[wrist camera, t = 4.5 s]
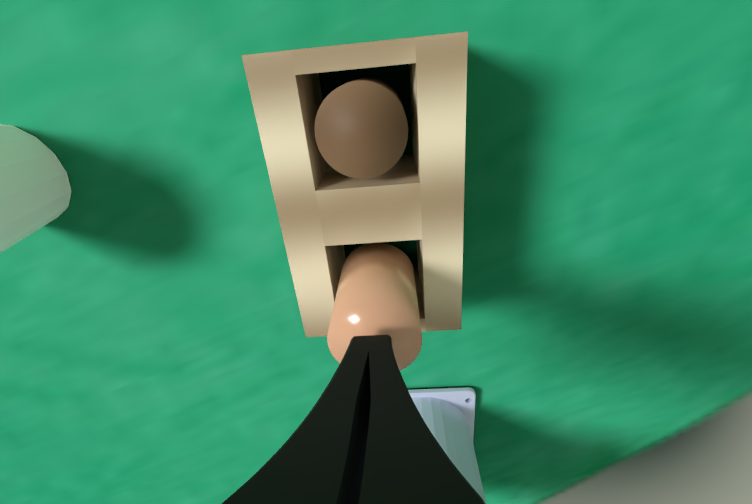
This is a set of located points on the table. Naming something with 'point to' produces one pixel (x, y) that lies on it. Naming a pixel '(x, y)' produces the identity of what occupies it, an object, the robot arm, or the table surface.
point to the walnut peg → (362, 128)
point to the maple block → (373, 195)
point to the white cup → (28, 185)
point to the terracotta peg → (377, 302)
